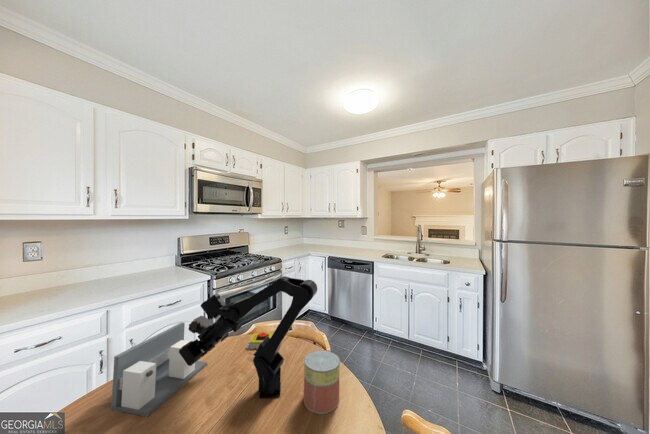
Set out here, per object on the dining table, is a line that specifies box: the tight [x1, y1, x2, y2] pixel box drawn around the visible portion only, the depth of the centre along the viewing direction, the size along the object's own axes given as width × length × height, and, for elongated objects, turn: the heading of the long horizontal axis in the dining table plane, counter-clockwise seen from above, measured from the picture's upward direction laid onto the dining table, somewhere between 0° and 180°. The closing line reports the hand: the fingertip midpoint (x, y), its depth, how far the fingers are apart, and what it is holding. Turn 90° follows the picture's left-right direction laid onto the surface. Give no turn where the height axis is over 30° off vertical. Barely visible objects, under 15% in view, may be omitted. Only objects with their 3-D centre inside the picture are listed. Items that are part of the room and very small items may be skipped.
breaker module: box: [169, 339, 195, 379], centre depth 81 cm, size 7×5×10 cm
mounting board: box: [110, 321, 208, 418], centre depth 77 cm, size 12×24×15 cm, turn 170°
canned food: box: [303, 349, 341, 415], centre depth 71 cm, size 11×11×12 cm
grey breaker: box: [121, 361, 156, 410], centre depth 68 cm, size 7×5×10 cm
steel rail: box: [118, 348, 170, 390], centre depth 77 cm, size 1×23×3 cm, turn 170°
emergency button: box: [245, 332, 274, 350], centre depth 105 cm, size 9×4×15 cm
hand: (190, 357), depth 80 cm, fingers closed, pressing on breaker module
